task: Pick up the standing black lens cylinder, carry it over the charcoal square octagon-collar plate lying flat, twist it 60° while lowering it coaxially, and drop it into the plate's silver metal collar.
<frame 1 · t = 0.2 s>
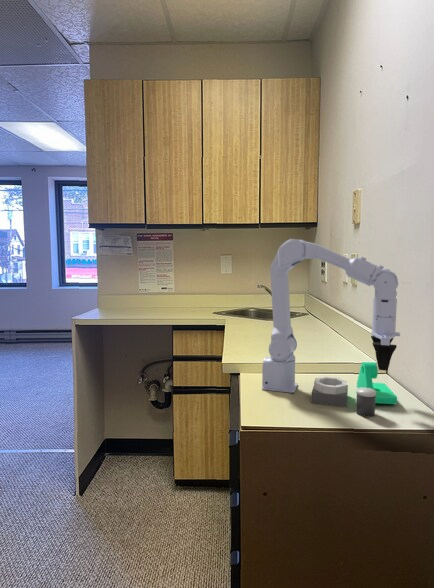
hand: (382, 365, 105), 10 cm above the countertop, fingers open, 7 cm apart
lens: (365, 413, 99), on the countertop
square octagon-collar plate: (329, 399, 108), on the countertop
camera mount: (376, 399, 109), on the countertop
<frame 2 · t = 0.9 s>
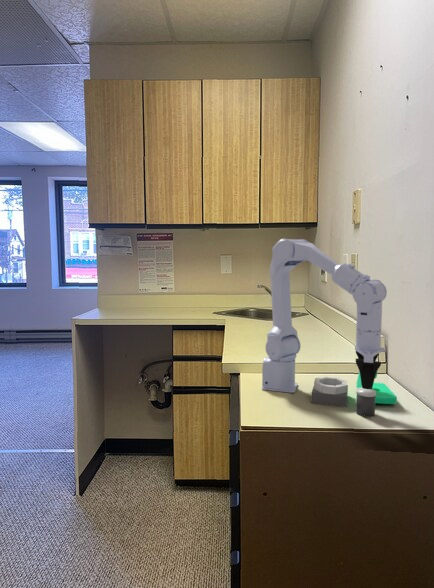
hand: (366, 383, 98), 8 cm above the countertop, fingers open, 7 cm apart
nothing on the countertop moved.
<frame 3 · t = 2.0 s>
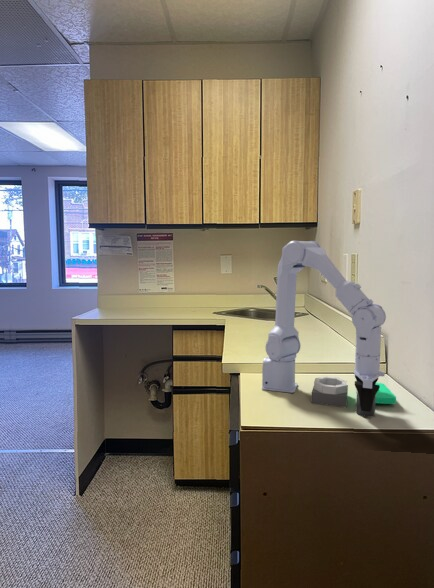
hand: (365, 406, 98), 2 cm above the countertop, fingers closed on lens, 4 cm apart
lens: (365, 413, 99), on the countertop, touching gripper
everything else where it was.
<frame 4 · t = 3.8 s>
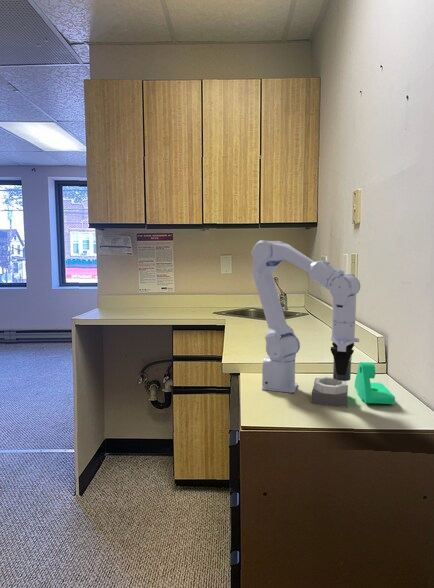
hand: (341, 371, 104), 9 cm above the countertop, fingers closed on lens, 4 cm apart
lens: (341, 378, 104), point 7 cm above the countertop, touching gripper
everything else where it was.
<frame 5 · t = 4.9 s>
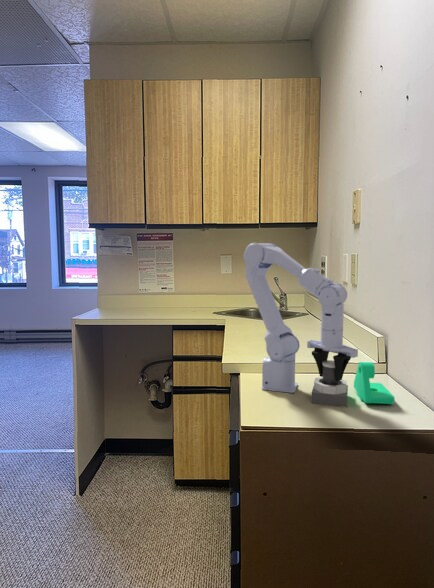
hand: (330, 377, 108), 6 cm above the countertop, fingers closed on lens, 4 cm apart
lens: (330, 384, 108), point 4 cm above the countertop, touching gripper
everything else where it was.
when the fingers open (6 cm above the countertop, at t = 5.8 s): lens drops 1 cm, resting on square octagon-collar plate.
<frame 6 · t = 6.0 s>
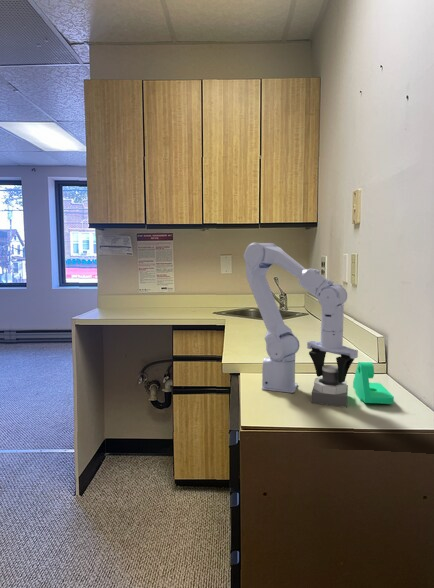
hand: (330, 378, 108), 6 cm above the countertop, fingers open, 6 cm apart
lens: (330, 388, 108), point 3 cm above the countertop, touching square octagon-collar plate
everything else where it was.
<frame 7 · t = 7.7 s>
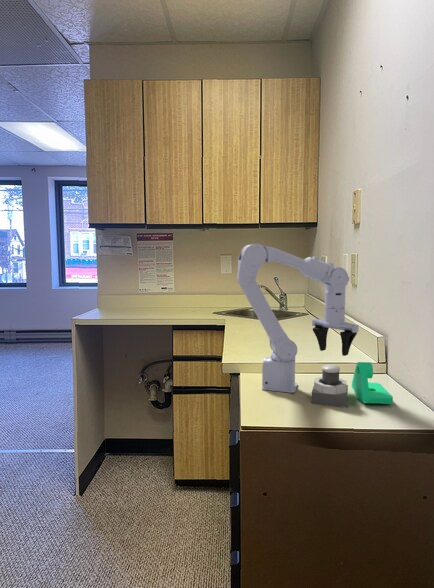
hand: (333, 352, 117), 10 cm above the countertop, fingers open, 7 cm apart
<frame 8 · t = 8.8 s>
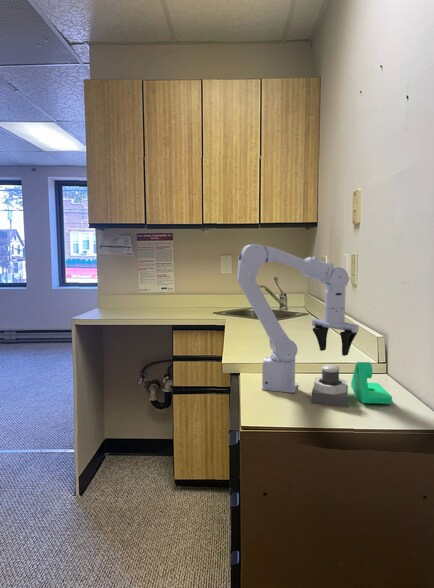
hand: (333, 352, 117), 10 cm above the countertop, fingers open, 7 cm apart
at the end: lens 0.0 cm off-centre on the square octagon-collar plate, point 3.0 cm above the square octagon-collar plate's base; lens tilted 1°; the gripper is holding nothing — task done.
